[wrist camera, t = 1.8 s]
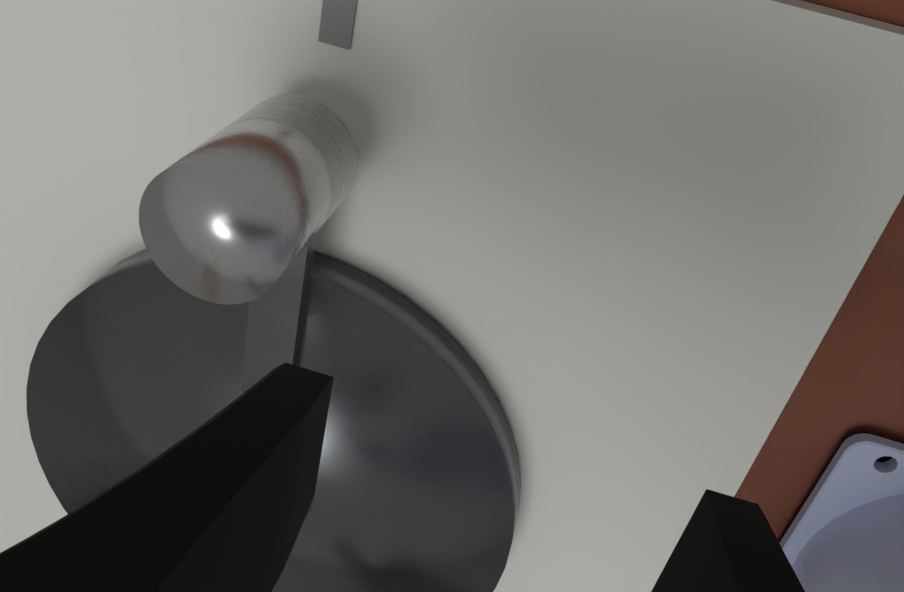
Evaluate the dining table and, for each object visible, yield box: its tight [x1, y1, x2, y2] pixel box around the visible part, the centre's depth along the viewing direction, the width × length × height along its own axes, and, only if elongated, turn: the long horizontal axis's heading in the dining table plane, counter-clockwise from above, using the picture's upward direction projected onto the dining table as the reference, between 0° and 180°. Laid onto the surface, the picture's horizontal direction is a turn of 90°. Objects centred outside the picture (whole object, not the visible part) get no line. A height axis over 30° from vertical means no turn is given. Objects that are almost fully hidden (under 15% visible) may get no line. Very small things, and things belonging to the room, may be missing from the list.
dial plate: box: [0, 0, 904, 592], centre depth 24 cm, size 26×28×1 cm
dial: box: [26, 94, 521, 592], centre depth 20 cm, size 18×14×5 cm
